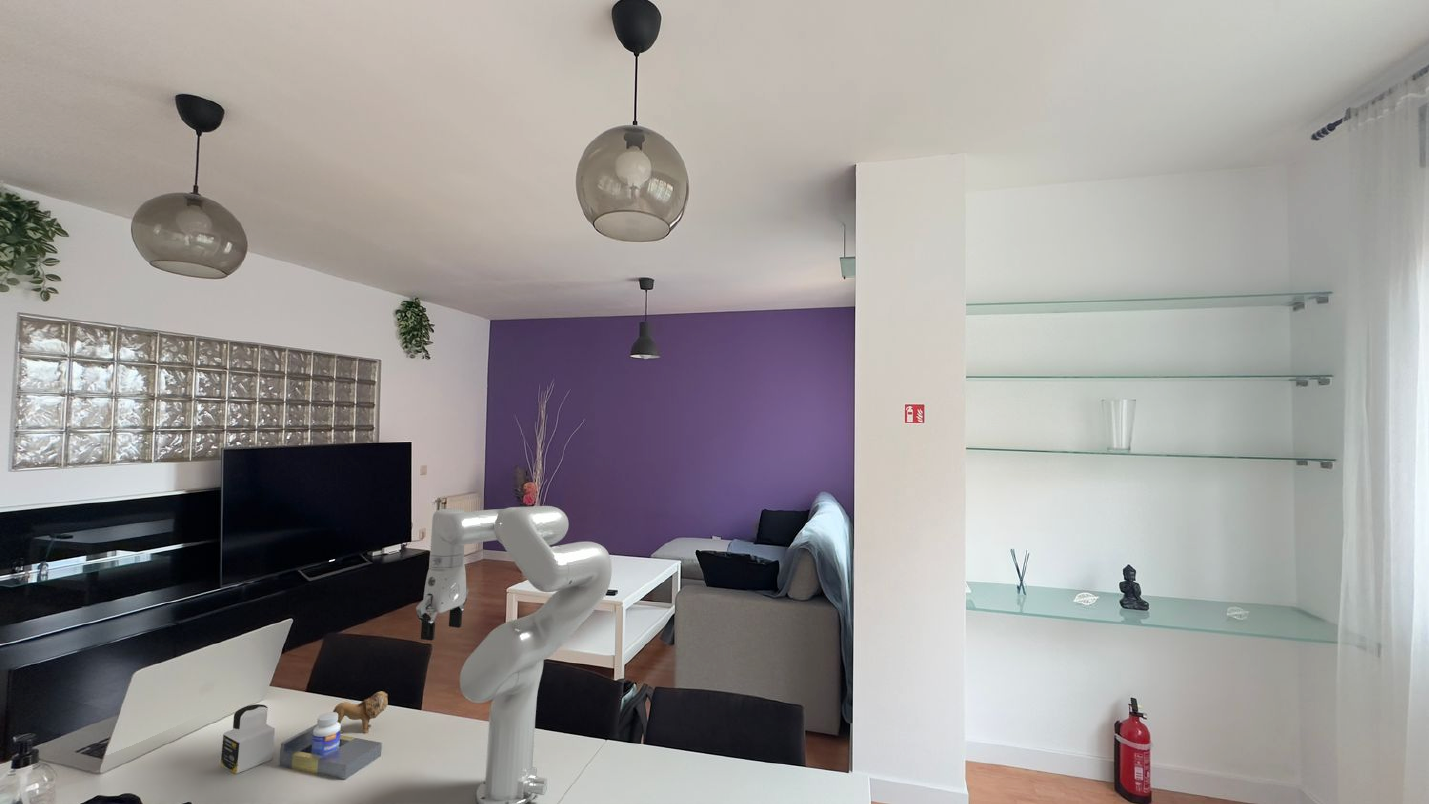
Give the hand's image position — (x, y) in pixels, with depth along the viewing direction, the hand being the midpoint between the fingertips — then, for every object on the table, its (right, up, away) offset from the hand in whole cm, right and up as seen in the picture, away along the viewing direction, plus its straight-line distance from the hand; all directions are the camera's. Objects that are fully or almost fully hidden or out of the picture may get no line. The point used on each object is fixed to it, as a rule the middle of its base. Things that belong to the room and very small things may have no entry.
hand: (441, 633), depth 140 cm
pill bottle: (-24, -27, -5) cm, 37 cm away
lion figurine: (-26, -28, +9) cm, 39 cm away
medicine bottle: (-41, -26, -8) cm, 49 cm away
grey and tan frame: (-23, -27, -6) cm, 36 cm away
